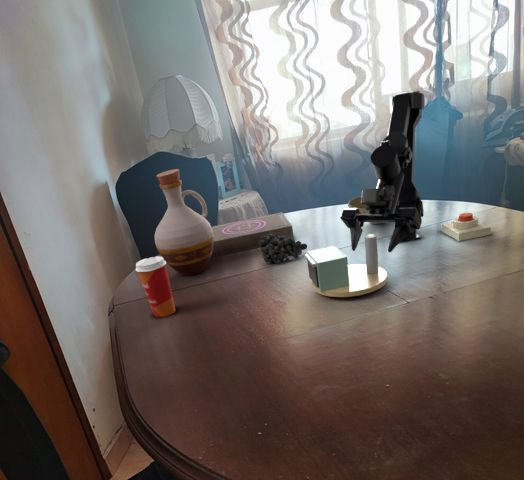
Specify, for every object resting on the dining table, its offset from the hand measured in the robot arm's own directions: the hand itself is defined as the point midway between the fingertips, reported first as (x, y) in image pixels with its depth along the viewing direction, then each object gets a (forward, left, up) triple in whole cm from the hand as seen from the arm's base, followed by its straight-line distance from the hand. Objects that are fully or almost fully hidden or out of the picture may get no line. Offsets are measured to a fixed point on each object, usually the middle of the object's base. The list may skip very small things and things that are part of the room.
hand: (370, 250), depth 110 cm
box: (-22, +34, -8) cm, 42 cm away
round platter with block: (0, -6, -7) cm, 9 cm away
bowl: (-50, +17, -8) cm, 54 cm away
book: (-60, -27, -8) cm, 66 cm away
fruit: (-30, -18, -8) cm, 36 cm away
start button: (-22, +34, -4) cm, 41 cm away
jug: (-38, -46, -8) cm, 60 cm away
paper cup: (-7, -53, -8) cm, 54 cm away
